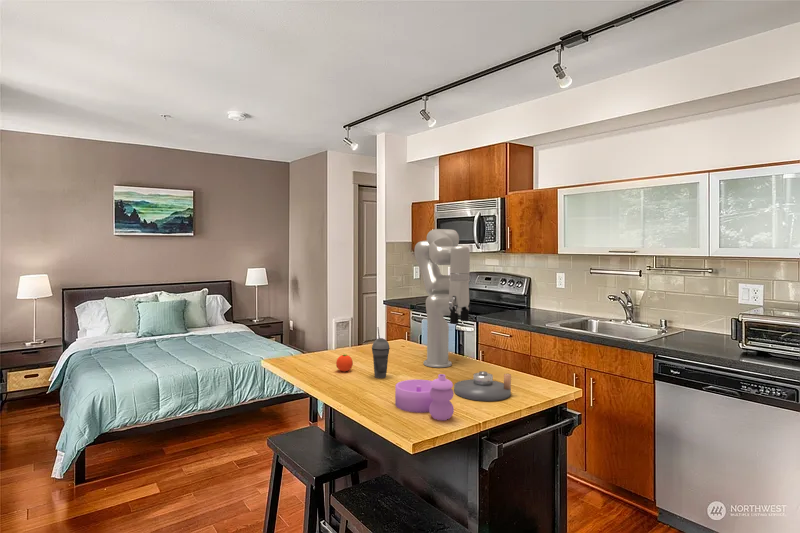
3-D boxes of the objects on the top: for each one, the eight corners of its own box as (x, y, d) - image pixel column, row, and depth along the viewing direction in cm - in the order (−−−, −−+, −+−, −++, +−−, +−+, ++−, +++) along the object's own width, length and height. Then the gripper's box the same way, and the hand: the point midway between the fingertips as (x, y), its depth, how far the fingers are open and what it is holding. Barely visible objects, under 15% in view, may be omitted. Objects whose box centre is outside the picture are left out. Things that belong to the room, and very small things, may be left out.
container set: (387, 401, 160) (387, 362, 160) (426, 395, 167) (426, 358, 167) (426, 426, 138) (426, 381, 138) (468, 417, 145) (469, 375, 145)
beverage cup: (387, 379, 186) (387, 329, 186) (369, 378, 188) (369, 328, 187) (391, 375, 194) (391, 326, 193) (373, 374, 195) (374, 325, 194)
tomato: (337, 368, 204) (338, 352, 203) (354, 368, 203) (354, 352, 203) (334, 373, 196) (334, 356, 195) (351, 373, 195) (351, 356, 195)
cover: (474, 379, 180) (474, 369, 180) (493, 381, 178) (493, 370, 178) (472, 384, 173) (472, 374, 173) (492, 386, 171) (492, 375, 171)
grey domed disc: (457, 382, 183) (457, 364, 182) (510, 386, 178) (511, 368, 178) (450, 398, 163) (451, 378, 163) (510, 403, 159) (510, 382, 158)
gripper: (459, 277, 194) (459, 319, 194) (441, 278, 179) (440, 323, 179) (477, 277, 190) (476, 320, 190) (459, 278, 175) (459, 325, 175)
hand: (459, 322), depth 184 cm, fingers open, 9 cm apart
